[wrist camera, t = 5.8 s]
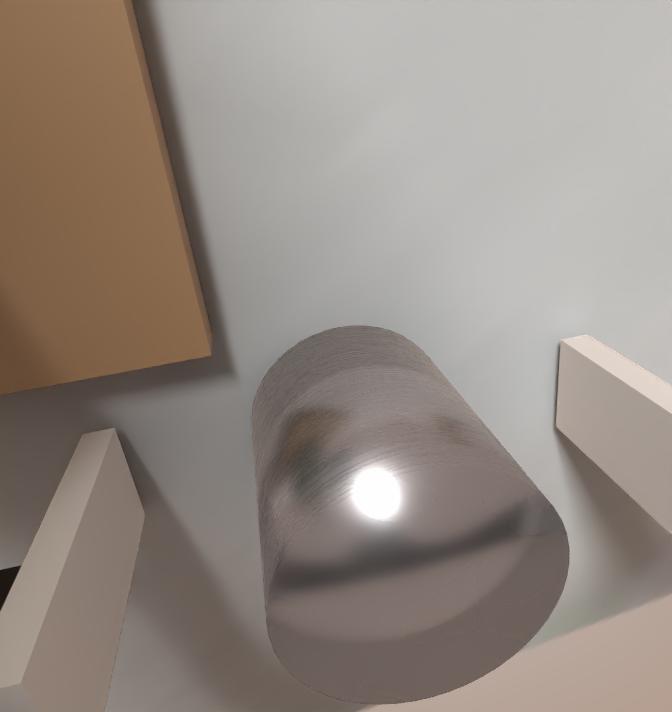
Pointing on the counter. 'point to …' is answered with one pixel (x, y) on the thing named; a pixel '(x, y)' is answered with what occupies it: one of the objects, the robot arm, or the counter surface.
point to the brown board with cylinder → (87, 203)
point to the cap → (393, 524)
